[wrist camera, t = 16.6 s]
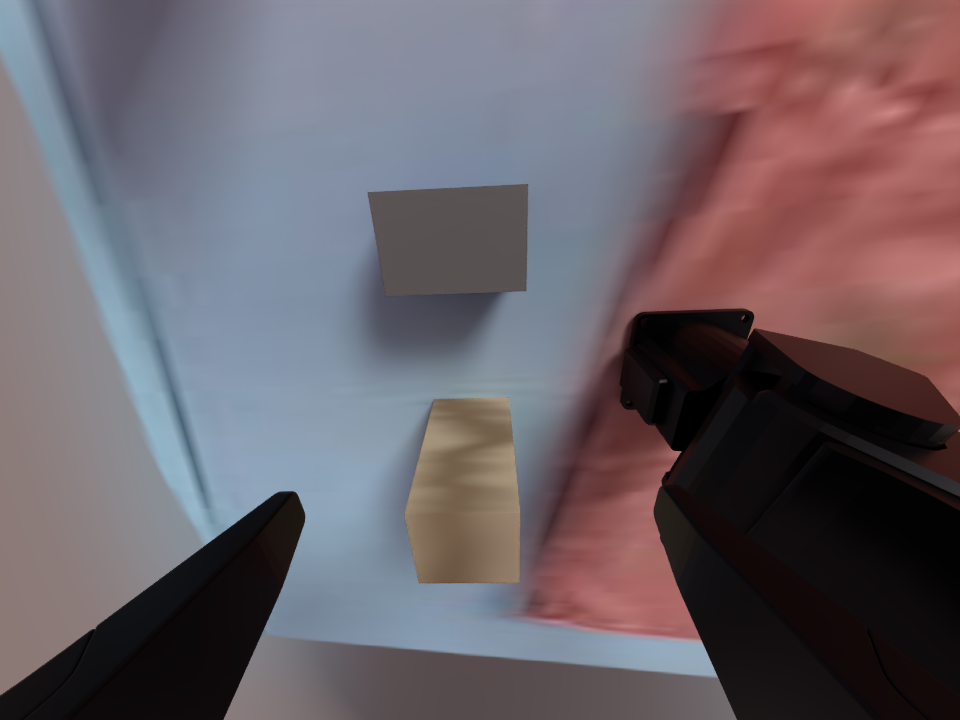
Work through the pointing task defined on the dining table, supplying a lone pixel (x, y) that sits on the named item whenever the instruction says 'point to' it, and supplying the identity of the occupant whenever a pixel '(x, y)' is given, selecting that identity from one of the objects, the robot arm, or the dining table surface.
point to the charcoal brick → (452, 239)
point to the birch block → (466, 495)
